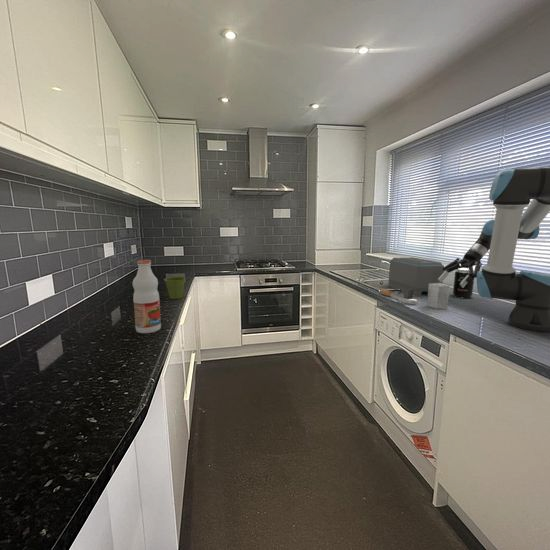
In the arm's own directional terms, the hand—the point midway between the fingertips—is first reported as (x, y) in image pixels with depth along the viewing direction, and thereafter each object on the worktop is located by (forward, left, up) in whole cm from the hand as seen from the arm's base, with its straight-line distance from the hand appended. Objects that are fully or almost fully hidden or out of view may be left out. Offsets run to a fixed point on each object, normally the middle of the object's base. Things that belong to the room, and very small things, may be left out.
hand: (450, 283), depth 155 cm
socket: (-1, +8, -12) cm, 15 cm away
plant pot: (+50, +141, -12) cm, 150 cm away
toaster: (+37, -8, -12) cm, 39 cm away
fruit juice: (-1, +149, -12) cm, 149 cm away
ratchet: (+18, +17, -12) cm, 28 cm away
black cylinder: (+14, -25, -12) cm, 31 cm away
